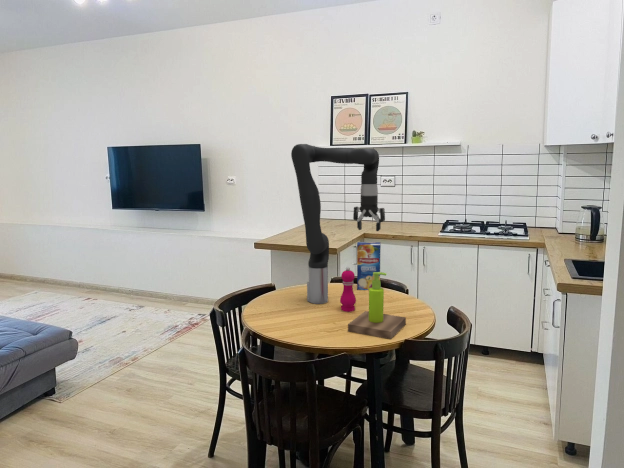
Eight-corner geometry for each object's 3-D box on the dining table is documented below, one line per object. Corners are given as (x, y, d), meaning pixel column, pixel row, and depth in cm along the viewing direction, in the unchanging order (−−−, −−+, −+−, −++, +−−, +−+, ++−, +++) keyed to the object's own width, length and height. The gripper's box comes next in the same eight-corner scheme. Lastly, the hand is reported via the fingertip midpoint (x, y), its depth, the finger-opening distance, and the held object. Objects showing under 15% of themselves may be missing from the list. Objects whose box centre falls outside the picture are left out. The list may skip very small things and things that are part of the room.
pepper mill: (358, 308, 214) (358, 266, 211) (352, 313, 208) (352, 269, 205) (343, 306, 217) (343, 264, 214) (337, 311, 211) (337, 268, 208)
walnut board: (347, 331, 187) (347, 324, 186) (365, 317, 202) (365, 310, 202) (390, 339, 178) (391, 331, 178) (405, 324, 194) (405, 317, 193)
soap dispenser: (385, 323, 186) (386, 274, 183) (368, 322, 188) (368, 274, 185) (386, 318, 192) (386, 271, 189) (369, 317, 194) (369, 270, 190)
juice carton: (356, 289, 244) (357, 244, 240) (357, 285, 251) (357, 242, 247) (380, 290, 243) (380, 245, 239) (379, 286, 250) (380, 242, 246)
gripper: (350, 194, 207) (350, 230, 210) (381, 195, 200) (380, 232, 203) (357, 193, 213) (357, 228, 216) (387, 194, 206) (386, 230, 209)
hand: (368, 230), depth 209 cm, fingers open, 8 cm apart
